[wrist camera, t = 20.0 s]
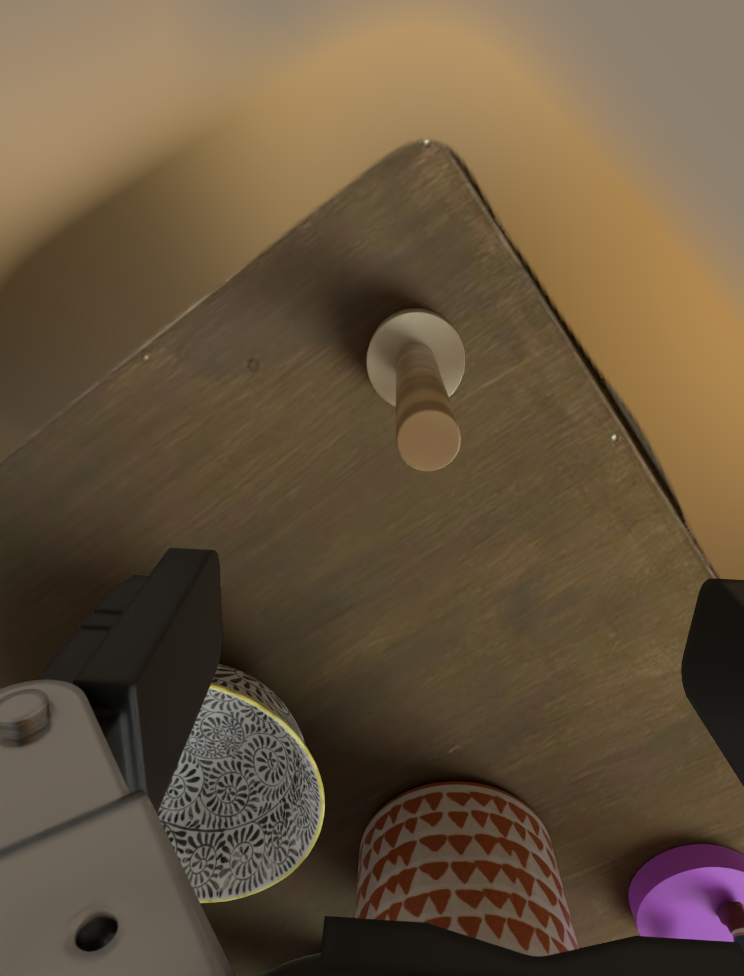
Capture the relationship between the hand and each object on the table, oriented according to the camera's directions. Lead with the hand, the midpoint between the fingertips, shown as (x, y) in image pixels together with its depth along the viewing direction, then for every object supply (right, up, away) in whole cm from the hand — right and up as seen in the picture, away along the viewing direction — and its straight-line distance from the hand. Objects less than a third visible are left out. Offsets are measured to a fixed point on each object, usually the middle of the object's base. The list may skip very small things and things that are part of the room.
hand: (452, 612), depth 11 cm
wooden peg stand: (+1, +9, +24) cm, 26 cm away
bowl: (-12, -13, +33) cm, 37 cm away
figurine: (+22, -27, +37) cm, 51 cm away
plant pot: (+5, -24, +37) cm, 44 cm away
